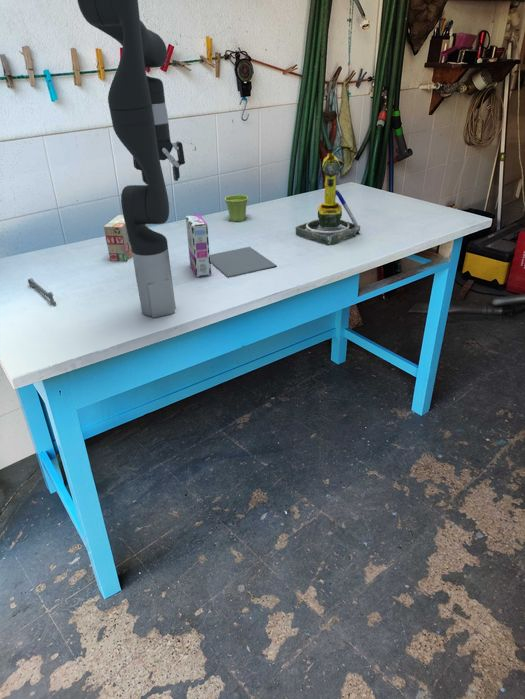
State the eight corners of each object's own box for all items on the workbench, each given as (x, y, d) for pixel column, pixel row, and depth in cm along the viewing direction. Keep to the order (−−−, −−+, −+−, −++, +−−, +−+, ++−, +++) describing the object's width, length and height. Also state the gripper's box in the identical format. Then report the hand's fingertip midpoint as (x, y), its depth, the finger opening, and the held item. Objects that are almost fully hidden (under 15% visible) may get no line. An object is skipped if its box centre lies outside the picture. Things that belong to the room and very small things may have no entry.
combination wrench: (26, 276, 158) (50, 295, 145) (30, 275, 159) (54, 294, 145) (29, 287, 160) (53, 307, 146) (33, 286, 161) (58, 306, 147)
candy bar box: (212, 275, 162) (207, 223, 153) (196, 278, 161) (191, 226, 152) (204, 263, 171) (200, 213, 163) (189, 265, 170) (184, 215, 161)
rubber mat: (276, 266, 166) (276, 265, 166) (227, 277, 160) (227, 276, 160) (249, 248, 182) (249, 246, 182) (204, 257, 175) (203, 255, 175)
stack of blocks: (133, 240, 193) (128, 206, 187) (150, 240, 192) (145, 207, 186) (110, 261, 175) (103, 225, 169) (127, 262, 174) (121, 226, 168)
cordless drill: (290, 235, 192) (290, 156, 177) (325, 223, 202) (328, 148, 188) (329, 247, 180) (332, 164, 165) (363, 234, 191) (369, 154, 176)
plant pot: (221, 219, 211) (219, 198, 206) (239, 214, 216) (237, 193, 211) (236, 224, 205) (234, 202, 200) (254, 219, 210) (253, 197, 205)
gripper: (131, 125, 137) (140, 188, 145) (183, 120, 142) (189, 181, 150) (125, 122, 143) (134, 182, 151) (175, 117, 148) (181, 176, 156)
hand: (161, 182), depth 151 cm, fingers open, 8 cm apart
